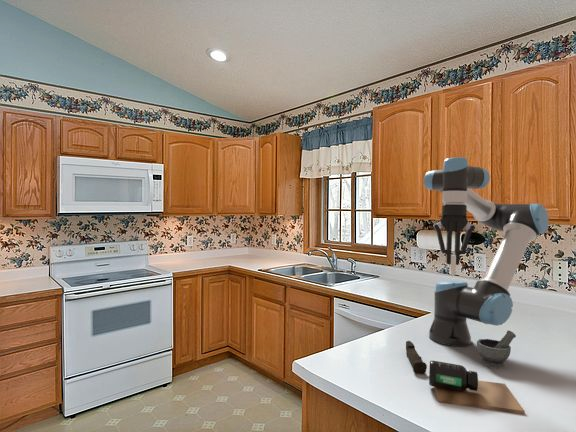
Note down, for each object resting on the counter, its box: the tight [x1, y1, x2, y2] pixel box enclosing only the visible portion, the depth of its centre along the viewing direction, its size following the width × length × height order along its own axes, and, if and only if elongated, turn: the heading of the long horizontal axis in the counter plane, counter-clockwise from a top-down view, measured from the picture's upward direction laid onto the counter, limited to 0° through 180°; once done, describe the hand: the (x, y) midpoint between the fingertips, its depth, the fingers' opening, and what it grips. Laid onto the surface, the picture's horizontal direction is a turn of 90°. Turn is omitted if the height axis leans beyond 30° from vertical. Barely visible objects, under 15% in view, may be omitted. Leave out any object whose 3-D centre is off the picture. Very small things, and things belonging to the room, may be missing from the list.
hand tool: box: [405, 340, 428, 375], centre depth 121 cm, size 19×4×5 cm, turn 171°
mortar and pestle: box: [476, 330, 517, 370], centre depth 120 cm, size 11×9×12 cm
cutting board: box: [433, 379, 526, 415], centre depth 100 cm, size 20×15×1 cm
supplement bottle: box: [428, 360, 479, 392], centre depth 101 cm, size 7×7×12 cm
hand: (452, 274), depth 122 cm, fingers closed
